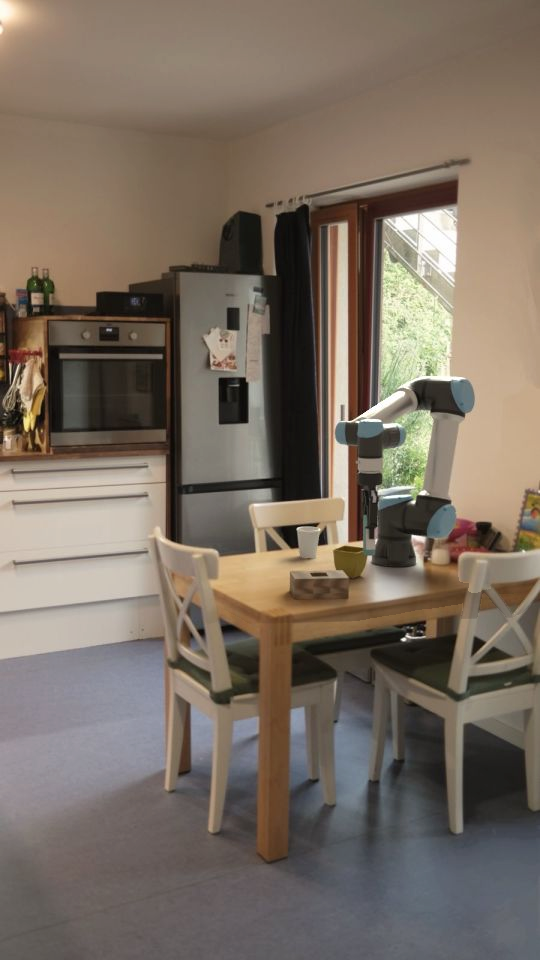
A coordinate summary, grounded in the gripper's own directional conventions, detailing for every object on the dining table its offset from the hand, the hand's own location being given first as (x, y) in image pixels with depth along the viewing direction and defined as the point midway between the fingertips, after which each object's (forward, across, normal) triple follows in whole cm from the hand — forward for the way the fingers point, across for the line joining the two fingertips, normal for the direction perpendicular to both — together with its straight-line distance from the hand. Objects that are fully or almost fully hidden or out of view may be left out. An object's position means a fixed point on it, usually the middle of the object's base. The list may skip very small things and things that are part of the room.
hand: (369, 547), depth 297 cm
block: (+12, +7, -17) cm, 22 cm away
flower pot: (+13, -15, -3) cm, 20 cm away
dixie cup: (+13, -45, -12) cm, 49 cm away
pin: (+2, 0, 0) cm, 2 cm away
